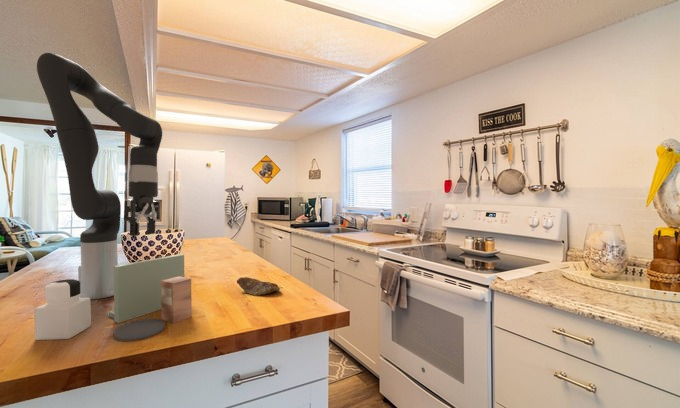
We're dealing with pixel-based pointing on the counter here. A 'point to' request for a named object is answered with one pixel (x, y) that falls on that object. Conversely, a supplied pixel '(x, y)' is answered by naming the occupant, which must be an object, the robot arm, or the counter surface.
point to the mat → (139, 329)
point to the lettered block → (176, 299)
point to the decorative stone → (256, 286)
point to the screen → (142, 285)
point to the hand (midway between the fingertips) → (143, 234)
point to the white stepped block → (62, 311)
